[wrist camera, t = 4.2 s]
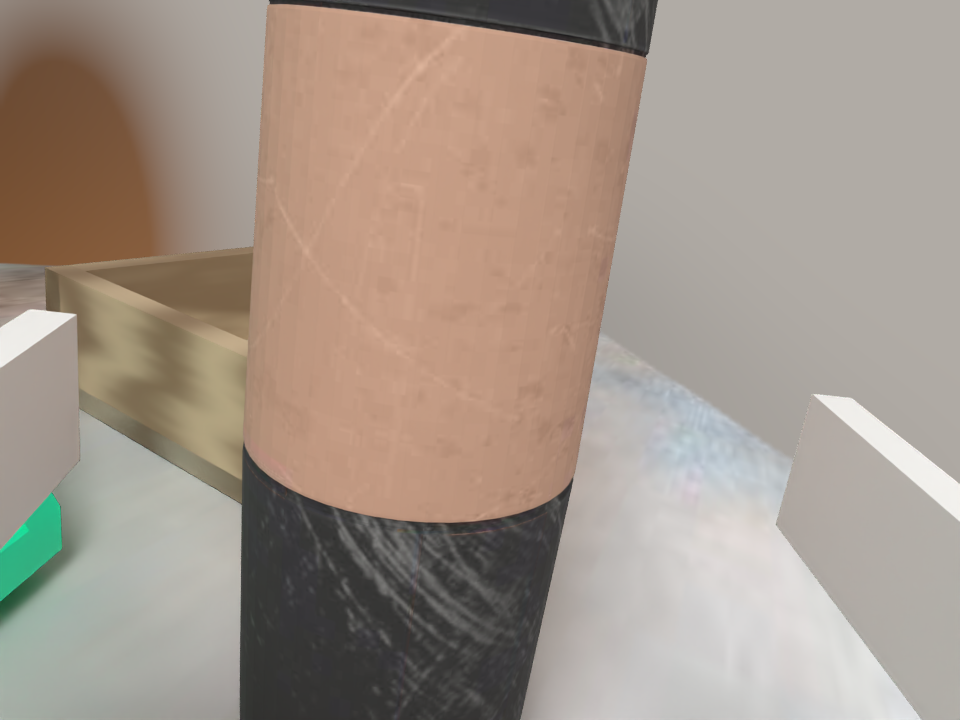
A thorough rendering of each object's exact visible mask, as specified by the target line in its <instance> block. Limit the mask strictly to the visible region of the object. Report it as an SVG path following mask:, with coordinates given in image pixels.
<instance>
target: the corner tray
mask: <svg viewBox="0 0 960 720" xmlns="http://www.w3.org/2000/svg"><path fill="white" fill-rule="evenodd" d="M252 265H253V247H245V248H236V249H226V250H216V251H206V252H195V253H185V254H176V255H166V256H155V257H146V258H135V259H125V260H115V261H105V262H95V263H85V264H75V265H65V266H55V267H45V286H46V311H52V312H61V313H70V314H77V344H78V390H79V408H80V409H81V410H83V411H85V412H86V413H88V414H90V415H91V416H93V417H95V418H97V419H98V420H100V421H102V422H103V423H105V424H107V425H108V426H110V427H112V428H114V429H115V430H117V431H119V432H120V433H122V434H124V435H125V436H127V437H129V438H131V439H132V440H134V441H136V442H137V443H139V444H141V445H142V446H144V447H146V448H148V449H149V450H151V451H153V452H154V453H156V454H158V455H159V456H161V457H163V458H164V459H166V460H168V461H170V462H171V463H173V464H175V465H176V466H178V467H180V468H181V469H183V470H185V471H187V472H188V473H190V474H192V475H193V476H195V477H197V478H198V479H200V480H202V481H204V482H205V483H207V484H209V485H210V486H212V487H214V488H215V489H217V490H219V491H220V492H222V493H224V494H226V495H227V496H229V497H231V498H232V499H234V500H236V501H237V502H239V503H241V504H242V450H243V443H244V438H243V422H244V404H245V387H246V370H247V352H248V335H249V317H250V300H251V282H252Z"/></svg>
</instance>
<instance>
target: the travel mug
mask: <svg viewBox="0 0 960 720" xmlns="http://www.w3.org/2000/svg"><path fill="white" fill-rule="evenodd" d="M269 1H270V5H268V7H267V21H266V38H265V55H264V72H263V90H262V108H261V125H260V142H259V160H258V177H257V195H256V213H255V230H254V247H253V265H252V282H251V300H250V317H249V335H248V352H247V370H246V387H245V404H244V422H243V438H244V443H243V450H242V539H241V632H240V720H520V718H521V713H522V709H523V704H524V699H525V695H526V690H527V686H528V681H529V677H530V672H531V668H532V663H533V659H534V654H535V650H536V645H537V641H538V636H539V632H540V627H541V623H542V618H543V614H544V609H545V605H546V600H547V596H548V591H549V587H550V582H551V578H552V573H553V569H554V564H555V560H556V555H557V551H558V546H559V542H560V537H561V533H562V528H563V524H564V519H565V515H566V510H567V506H568V501H569V497H570V492H571V488H572V483H573V476H574V473H575V468H576V463H577V458H578V452H579V446H580V441H581V435H582V429H583V424H584V418H585V412H586V406H587V401H588V395H589V389H590V384H591V378H592V372H593V367H594V361H595V355H596V349H597V344H598V338H599V332H600V326H601V320H602V315H603V309H604V304H605V298H606V292H607V287H608V281H609V275H610V269H611V264H612V258H613V252H614V247H615V241H616V235H617V230H618V223H619V218H620V212H621V206H622V201H623V195H624V190H625V184H626V178H627V173H628V167H629V161H630V156H631V150H632V144H633V138H634V133H635V127H636V121H637V116H638V110H639V104H640V98H641V92H642V87H643V81H644V76H645V70H646V64H647V59H646V58H645V57H646V55H647V54H648V53H649V47H650V42H651V36H652V30H653V24H654V19H655V13H656V7H657V2H658V0H269Z"/></svg>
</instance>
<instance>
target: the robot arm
mask: <svg viewBox="0 0 960 720" xmlns="http://www.w3.org/2000/svg"><path fill="white" fill-rule="evenodd" d="M79 461H80V437H79V390H78V344H77V314H70V313H61V312H52V311H42V310H33V309H29V310H28V311H26V312H25V313H23V314H21V315H20V316H18V317H16V318H15V319H13V320H11V321H10V322H8V323H7V324H5V325H3V326H2V327H0V550H1V549H2V547H3V546H4V545H5V544H6V543H7V542H8V541H9V540H10V538H11V537H12V536H13V535H14V534H15V533H16V532H17V531H18V529H19V528H20V527H21V526H22V525H23V524H24V523H25V522H26V520H27V519H28V518H29V517H30V516H31V515H32V514H33V513H34V511H35V510H36V509H37V508H38V507H39V506H40V505H41V504H42V502H43V501H44V500H45V499H46V498H47V497H48V496H49V495H50V493H51V492H52V491H53V490H54V489H55V488H56V487H57V486H58V484H59V483H60V482H61V481H62V480H63V479H64V478H65V477H66V475H67V474H68V473H69V472H70V471H71V470H72V469H73V467H74V466H75V465H76V464H77V463H78V462H79ZM776 526H777V527H778V528H779V530H780V531H781V532H782V534H783V535H784V536H785V538H786V539H787V540H788V542H789V543H790V544H791V546H792V547H793V548H794V550H795V551H796V552H797V554H798V555H799V556H800V558H801V559H802V560H803V562H804V563H805V564H806V566H807V567H808V568H809V570H810V571H811V572H812V574H813V575H814V576H815V578H816V579H817V580H818V582H819V583H820V584H821V586H822V587H823V588H824V590H825V591H826V592H827V594H828V595H829V596H830V598H831V599H832V600H833V602H834V603H835V604H836V606H837V607H838V608H839V610H840V611H841V612H842V614H843V615H844V616H845V618H846V619H847V620H848V622H849V623H850V624H851V626H852V627H853V628H854V630H855V631H856V632H857V634H858V635H859V636H860V638H861V639H862V640H863V642H864V643H865V644H866V646H867V647H868V649H869V650H870V651H871V653H872V654H873V655H874V657H875V658H876V659H877V661H878V662H879V663H880V665H881V666H882V667H883V669H884V670H885V671H886V673H887V674H888V675H889V677H890V678H891V679H892V681H893V682H894V683H895V685H896V686H897V687H898V689H899V690H900V691H901V693H902V694H903V695H904V697H905V698H906V699H907V701H908V702H909V703H910V705H911V706H912V707H913V709H914V710H915V711H916V713H917V714H918V715H919V717H920V718H921V719H922V720H960V484H959V483H958V482H956V481H955V480H954V479H952V478H951V477H950V476H949V475H948V474H946V473H945V472H944V471H942V470H941V469H940V468H939V467H938V466H936V465H935V464H934V463H932V462H931V461H930V460H929V459H927V458H926V457H925V456H923V455H922V454H921V453H920V452H919V451H917V450H916V449H915V448H914V447H912V446H911V445H910V444H909V443H907V442H906V441H905V440H904V439H902V438H901V437H900V436H899V435H897V434H896V433H895V432H893V431H892V430H891V429H890V428H888V427H887V426H886V425H885V424H883V423H882V422H881V421H880V420H878V419H877V418H876V417H874V416H873V415H872V414H871V413H869V412H868V411H867V410H866V409H864V408H863V407H862V406H861V405H859V404H858V403H857V402H856V401H854V400H853V399H852V398H846V397H836V396H828V395H818V394H812V396H811V399H810V403H809V407H808V410H807V414H806V417H805V421H804V425H803V428H802V432H801V435H800V439H799V443H798V446H797V450H796V454H795V457H794V460H793V464H792V468H791V471H790V475H789V478H788V482H787V486H786V489H785V493H784V496H783V500H782V504H781V507H780V511H779V514H778V518H777V522H776Z"/></svg>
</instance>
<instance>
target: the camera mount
mask: <svg viewBox="0 0 960 720" xmlns="http://www.w3.org/2000/svg"><path fill="white" fill-rule="evenodd" d="M61 549H62V536H61V507H60V505H59V503H58V502H57V500H56V498H55V497H54V495H53V494H52V492H51V493H50V495H49V496H48V497H47V498H46V499H45V500H44V501H43V502H42V504H41V505H40V506H39V507H38V508H37V509H36V510H35V511H34V513H33V514H32V515H31V516H30V517H29V518H28V519H27V520H26V522H25V523H24V524H23V525H22V526H21V527H20V528H19V529H18V531H17V532H16V533H15V534H14V535H13V536H12V537H11V538H10V540H9V541H8V542H7V543H6V544H5V545H4V546H3V547H2V549H1V550H0V601H2V600H3V599H4V598H5V597H6V596H7V595H9V594H10V593H11V592H12V591H13V590H14V589H16V588H17V587H18V586H19V585H20V584H21V583H23V582H24V581H25V580H26V579H27V578H29V577H30V576H31V575H32V574H33V573H34V572H36V571H37V570H38V569H39V568H40V567H41V566H43V565H44V564H45V563H46V562H47V561H48V560H50V559H51V558H52V557H53V556H54V555H56V554H57V553H58V552H59V551H60V550H61Z"/></svg>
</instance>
